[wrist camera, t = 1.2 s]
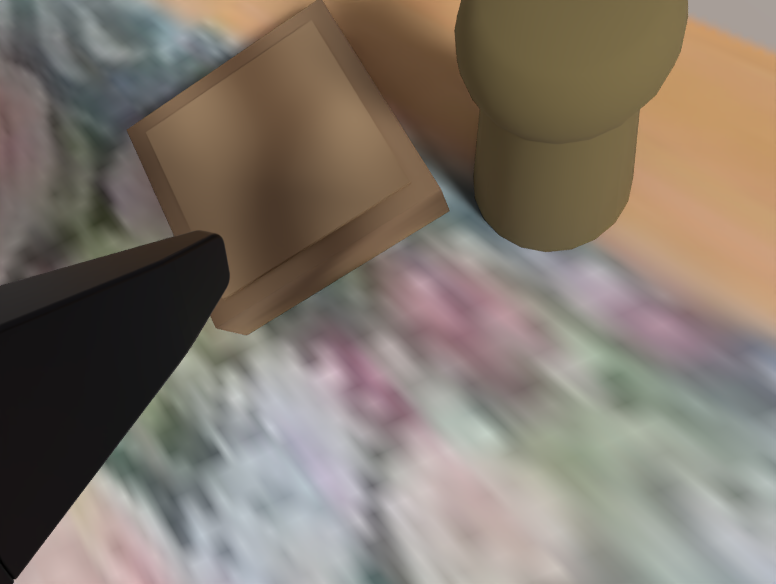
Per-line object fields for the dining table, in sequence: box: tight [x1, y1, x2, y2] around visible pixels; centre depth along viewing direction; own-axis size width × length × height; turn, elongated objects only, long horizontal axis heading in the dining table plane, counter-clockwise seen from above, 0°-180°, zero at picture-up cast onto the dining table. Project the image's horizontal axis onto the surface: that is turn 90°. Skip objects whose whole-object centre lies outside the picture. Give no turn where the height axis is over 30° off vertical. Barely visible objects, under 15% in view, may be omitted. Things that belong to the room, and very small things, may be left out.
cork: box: [454, 0, 688, 252], centre depth 17 cm, size 6×6×11 cm
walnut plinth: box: [127, 0, 450, 335], centre depth 24 cm, size 10×10×3 cm
